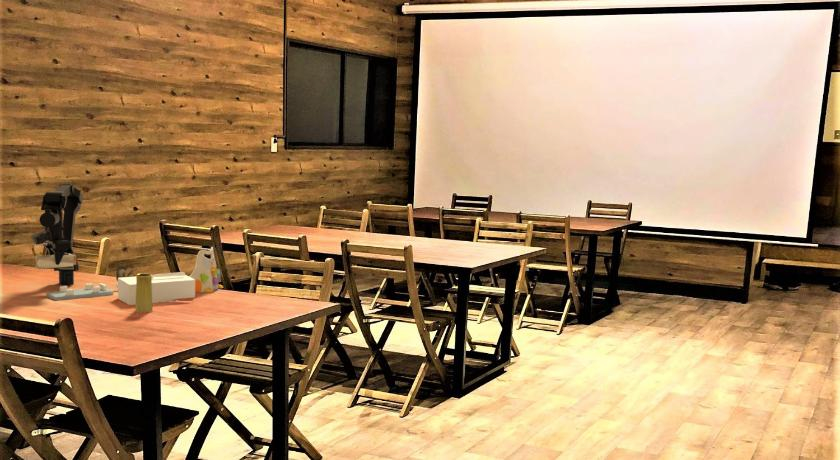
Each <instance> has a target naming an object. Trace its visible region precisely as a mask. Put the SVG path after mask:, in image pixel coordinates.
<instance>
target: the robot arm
mask: <svg viewBox="0 0 840 460" xmlns="http://www.w3.org/2000/svg"><path fill="white" fill-rule="evenodd" d="M83 198H84V197H83V194H82V191H81V190H80V189H78V188H76V187H75V184H73V183H64V182H63V183H60V184H59V186H58V187H57V188H56V189H55V190H53V191H52V190H51V191H46V192H45V194H43V197H42V201H41V206H40V211H44V213H42V214H41V215H40V216H39V223H40V225H41V226H42V227H44V229H43V231H40V232H37V233H35V234H32V235H31V236H30V238H31V240H32V242H33V244H35V245H41V244H42V247H44V248H45V249H46V250H47V252H48V255H54V257H55V262H56V265H59V264H60V262H61V260H62V257H63V255H64V254H65V253H70V254H73V255H76V252H75V250H74V249H73V243H74V233H75V226H76V215H77V214H78V212H79V211H80V209H81V207H82V204H83V203H84V199H83ZM76 256H77V255H76ZM79 268H80V265H79V261H78V259H77V257H76V265H73V266H69V267H57V268H53V271H54V272H56V271H57V272H58V285H60V286H73V285H74V284H75V272H77V271H79V270H80V269H79Z"/></svg>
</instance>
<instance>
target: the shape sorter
mask: <svg viewBox="0 0 840 460" xmlns="http://www.w3.org/2000/svg"><path fill="white" fill-rule="evenodd" d="M205 255H210V258H208V257H206V256H205ZM216 265H217V264H216V260H215V252H214V247H213V246H211V247H210V250H206V249H200V250H199V251H198V253H197V255H196V259H195V266H194V269H193V271H192V272H191V274H190V275H188V276H189V277H191V278H193V279H195V293H213V292H214V291H215V290H218V289H223V288H224V286H223V285H222V284H219V282H220V280H219V278H221V270H220V269H218V268H217V266H216Z"/></svg>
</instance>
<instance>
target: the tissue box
mask: <svg viewBox="0 0 840 460" xmlns="http://www.w3.org/2000/svg"><path fill="white" fill-rule="evenodd" d="M146 274H148V273H146ZM151 275H152V277H151V278H152V304H159V303H158V302H161V303H167V302H166V301H173V302H177V301H176V300H182V299H192V298H193V299H194V298H195V297H196V292H195V279H193V278H191V277H189V276H190V275H187V274H186V272H185V271H181V272H179V271H177V272H169V273H158V274H151ZM117 284H118V288H117V299H118V300H120V301H121V302H123V303H124V304H126V305H129V306H136V276H129V277H126V276H125V277H123V278H118V281H117Z"/></svg>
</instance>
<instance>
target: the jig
mask: <svg viewBox="0 0 840 460" xmlns="http://www.w3.org/2000/svg"><path fill="white" fill-rule="evenodd" d="M45 295H46V296H45V297H46V298H49V299H52V300H53V301H63V300H65V301H66V300H73V299H74V300H75V299H85V298H94V297H104V296H105V297H106V296H113V295H114V290H112V289H109V288H108V284H105V283H102V282H100V283H99V284H98V285H97V286H94V283H85V288H76V289H74V288H68V285H60V286H59V290H58V291H57V290H56V291H45Z"/></svg>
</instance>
